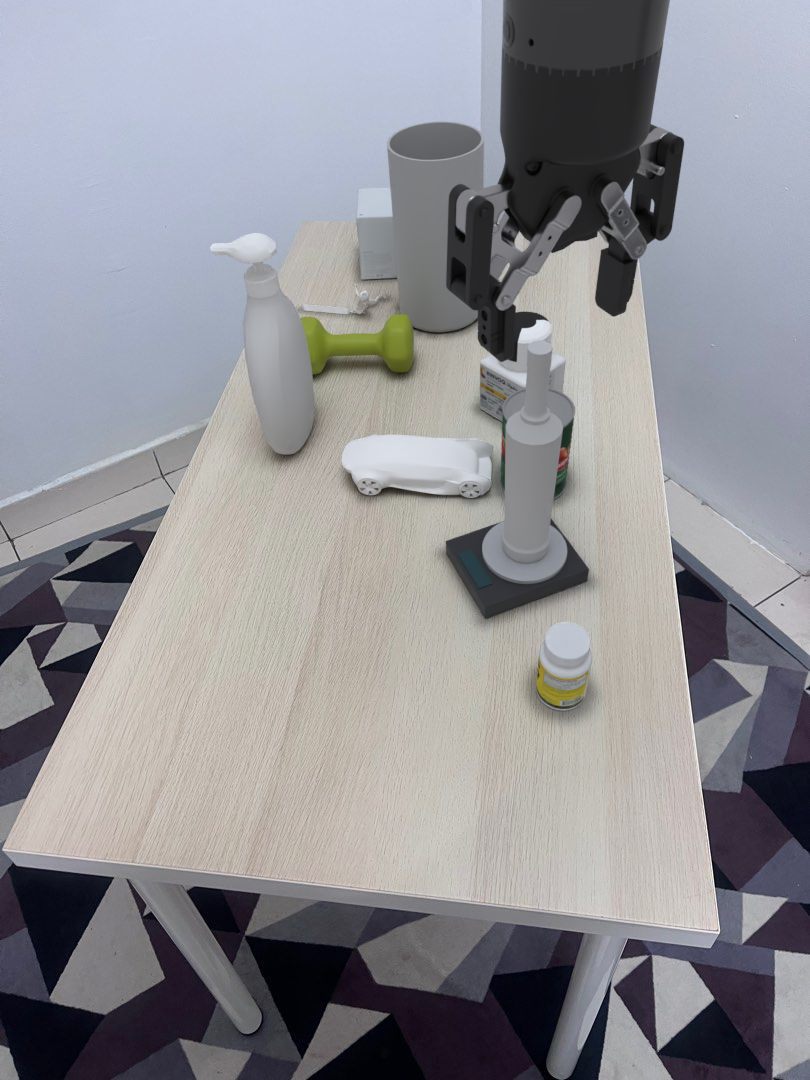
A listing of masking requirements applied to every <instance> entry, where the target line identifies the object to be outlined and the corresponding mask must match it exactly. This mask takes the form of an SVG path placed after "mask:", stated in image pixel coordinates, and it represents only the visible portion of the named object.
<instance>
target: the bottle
mask: <svg viewBox="0 0 810 1080" xmlns="http://www.w3.org/2000/svg"><path fill="white" fill-rule="evenodd" d="M553 348H554V347H553V345H552V343H551V344H550V343H549V342H546V341H541V340H539V341H534V342H531V343H530V344H529V345H528V351H527V378H526V393H525V406H524V407H522V409H521V411H519V412H516V413H515V414H513V415H512V416H511V417H510V418H509V419H508V421H507V423H506V444H505V492H504V515H503V516H504V517H503V518H504V520H503V521H504V528H503V531H502V534H501V538H502V545H503V550H504V552H505V553H506V554H507V556H508V557H509V558H511V559H513V560H514V561H516V562H521V563H533V562H536V561H538V560H541V559H542V558H543V557H544V556H545V555H546V553H547V551H548V548H549V545H550V542H551V534H550V530H549V529H550V521H551V519H552V514H553V513H552V512H553V506H554V500H553V499H554V492H555V484H556V477H557V469H558V462H559V455H560V447H561V440H562V432H563V426H562V422H561V420H560V419H559V418H558V417H557V416H556V415H555V414H553V413H551V412H550V409H549V408H548V407H547V400H548V388H549V376H550V368H551V360H552V352H553Z"/></svg>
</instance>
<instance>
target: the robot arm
mask: <svg viewBox="0 0 810 1080" xmlns="http://www.w3.org/2000/svg"><path fill="white" fill-rule="evenodd" d="M670 2H671V0H502V33H501V34H502V37H501V43H502V44H501V66H500V67H501V68H500V69H501V70H500V105H499V106H500V108H499V109H500V110H499V112H500V113H499V115H500V116H499V134H500V138H501V144H502V149H503V153H504V164H503V168H502V172H501V174H500V177H499V179H498V181H497V184H495V185H489V186H486V187H483V188H482V189H478V190H471V189H470V188H468V187H467V186H465V185H463V184H458V185H456V186H455V187H454V188H453V189H452V190H451V192H450V194H449V204H448V237H447V271H446V287H447V289H448V290H449V291H450V292H451V293H453V294H454V295H455V296H456V297H458V298H459V299H460V300H461V301H462V302H464V303H465V304H466V305H467V306H469V307H470V308H471V309H472V310H478V318H477V341H478V343H479V346H481V347H482V348H483V349H484V350H486V351H487V352H488V354H489V355H490V354H492V355H493V356H494V357H495V358H496V359H498V360H499V361H500V362H503V361H506V360H508V359H511V358H513V356H514V338H515V316H516V312H517V306H516V305H515V304H514V303H515V300H516V299H517V297H518V295H519V294H520V292H521V290H522V289H523V287H524V285H525V284H526V282H527V280H528V279H529V278H530V277H534V276H536V275H538V274H539V273H540V271H541V269H542V268H543V267H544V264H545V263H546V261H547V259H548V258H549V256H550V254H555V253H557V252H560V251H562V250H565V249H566V248H568V247H569V246H571V245H572V244H574V243H575V242H576V243H577V242H587V241H590V240H593V239H595V238H598V234H599V235H600V236H601V238H602V239H603V241H604V242H605V243H606V244H607V247H605V248H602V249H600V255H599V262H598V272H597V279H596V286H595V294H594V301H595V304H596V306H597V307H598V308H600V309H601V310H602V311H603V312H605V313H607V314H608V315H609V316H611V317H613V318H614V317H617V316H619V315H623V314H625V312H626V311H627V306H628V303H629V302H630V300H631V297H632V295H633V290H634V285H635V279H636V278H635V277H636V273H637V267H638V260H639V259H640V258H641V257H643V255H645V253H646V250H647V248H648V245H649V244H650V243H651V242H653V241H654V240H657V241H659V242H663V241H665V240H666V239H667V238H668V236H669V235H671V233H672V230H673V225H674V224H673V223H674V217H675V210H676V203H677V196H678V191H679V183H680V177H681V169H682V162H683V156H684V149H685V140H684V138H683V137H681V136H679V135H676V134H674V133H673V132H672V131H669V130H667V129H665V128H662V127H660V126H659V127H658V126H656V125H654V124H652V118H653V117H652V116H653V110H654V104H655V99H656V98H655V97H656V92H657V86H658V79H659V71H660V66H661V61H662V60H661V59H662V55H663V54H662V53H663V49H664V47H663V46H664V39H665V33H666V27H667V20H668V16H669V15H668V14H669V8H670ZM631 182H632V187H631V194H630V195H631V197H630V205H629V203H628V201H627V200H626V198H625V193H626V191H627V189H628V188H629V186H630V185H631ZM652 201H653V211H652V210H651V209H652V208H651V207H652ZM503 212H504V213H503ZM502 213H503V215H502V217H501V219H500V221H499V218H500V216H501V214H502ZM498 221H499V222H498ZM519 233H520V234H521V236H522V237H523V238H524V239H525V240H527V242H529V244H528V245H527V248H525V250H523V251H522V250H521V249H519V248H517V247H516V238H517V236H518V235H519ZM508 264H509V267H508V269H507V270H506V272H505V274H504V276H503V278H502V280H501V281H500V280H499V279H500V277H501V275H502V274H503V273H504V271H505V269H506V268H507V265H508Z"/></svg>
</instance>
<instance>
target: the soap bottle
mask: <svg viewBox="0 0 810 1080" xmlns="http://www.w3.org/2000/svg"><path fill="white" fill-rule="evenodd" d="M209 249H210V252H211V253H212V254H213V255H214V256H226V257H229V258H231V259H234V260H235V261H237V262H239V263H243V264H247V265H248V264H251V266H249V267H248V268H247V269H246V270H245V272H244V273H243V281H244V286H245V288H246V289H245V290H246V303H245V309H244V313H243V319H242V332H243V333H242V334H243V346H244V357H245V364H246V370H247V375H248V381H249V386H250V391H251V394H252V399H253V404H254V406H255V409H256V412H257V416H258V419H259V423H260V426H261V429H262V433H263V435H264V437H265V440H266V443H267V444H268V445H269V446H270V447H271V449H272V450H273V451H274V452H275V453H276V454H279V455H293V454H296V453H297V452H299V451H300V450H301V449H302V447H304V445H305V443H306V442H307V440H308V439H309V436H310V434H311V432H312V430H313V426H314V421H315V390H314V378H313V374H312V368H311V360H310V355H309V350H308V345H307V340H306V336H305V332H304V328H303V324H302V321H301V319H300V318H301V316H300V315H299V312H298V310H297V309H296V306H295V304H294V302H293V301H292V300H291V299H290V298H289V297H288V296H287V295H286V294H284V292H283V290H282V289H281V286H280V281H279V275H278V271H277V269H276V268H274V267H273V266H272V265H270V264H268V263H264V262H266V261H268V260H271V259H273V257H274V256H275V255H276V254H277V253H278V246H277V242H276V241H275V240H274V239H272V238H271V237H269V236H268V235H266V234H265V233H260V232H252V233H247V234H244V235H242V236H240V237H238V238H236V239H234V240H232V241H231V242H220V243H219V242H218V243H216V242H215V243H212V244H211V245H210V247H209Z"/></svg>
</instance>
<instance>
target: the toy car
mask: <svg viewBox="0 0 810 1080" xmlns="http://www.w3.org/2000/svg"><path fill="white" fill-rule="evenodd" d="M493 451H494V446H493V444H492V443H490V442H488V441H486V440H483V439H480V438H479V437H468V438H450V437H434V436H424V435H411V434H397V433H396V434H395V433H394V434H393V433H392V434H390V433H389V434H371V435H368V436H363V437H360V438H357V439H353V440H350V441H349V442H348V443H347V444H346V445H345V446H344V449H343V451H342V455H341V464H342V466H343V468H344V470H345V472H347V473H348V474H351V477H352V481H353V482H354V484H355V485H356V487H357V489H358V491H359V492H360V493H361V494H363V495H366V496H376V495H378V494H380V492H381V491H382V489H385V488H395V489H399V490H400V489H401V490H406V491H412V492H418V493H424V494H431V495H440V496H459V495H461V496H463V497H464V498H467V499H475V498H478V497H479V496H480V497H482V496H484V495H485V494H486V493H487V492H489V490H490V489H491V487H492V483H493V482H492V466H493V464H492V459H491V455H492V453H493Z"/></svg>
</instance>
